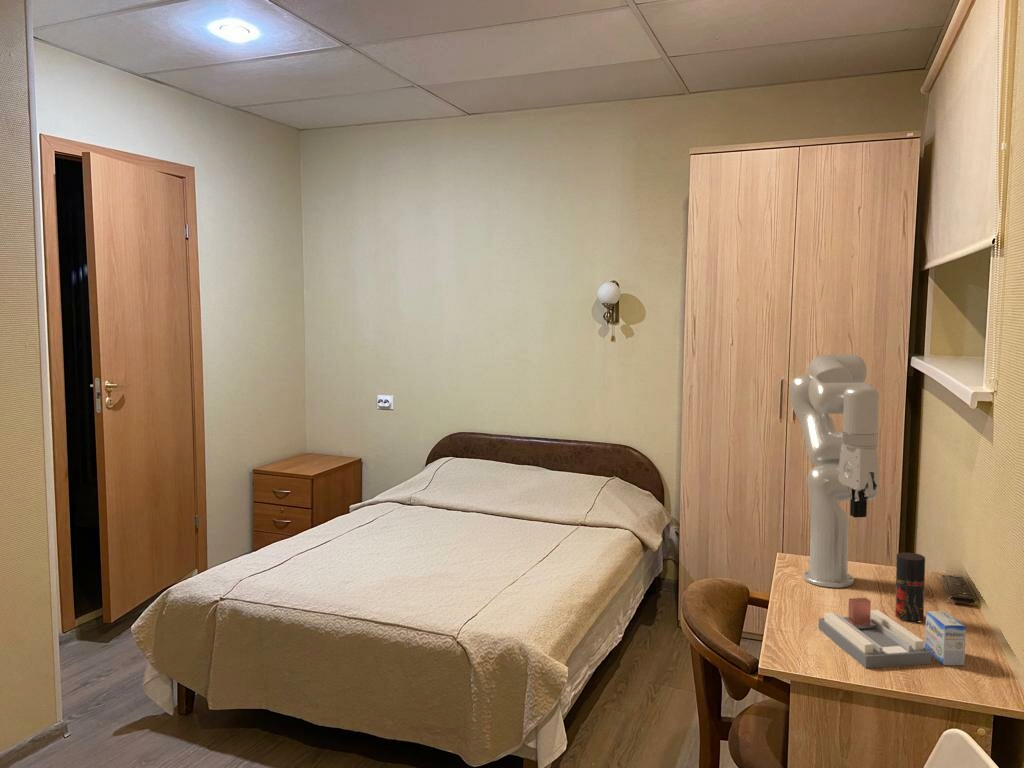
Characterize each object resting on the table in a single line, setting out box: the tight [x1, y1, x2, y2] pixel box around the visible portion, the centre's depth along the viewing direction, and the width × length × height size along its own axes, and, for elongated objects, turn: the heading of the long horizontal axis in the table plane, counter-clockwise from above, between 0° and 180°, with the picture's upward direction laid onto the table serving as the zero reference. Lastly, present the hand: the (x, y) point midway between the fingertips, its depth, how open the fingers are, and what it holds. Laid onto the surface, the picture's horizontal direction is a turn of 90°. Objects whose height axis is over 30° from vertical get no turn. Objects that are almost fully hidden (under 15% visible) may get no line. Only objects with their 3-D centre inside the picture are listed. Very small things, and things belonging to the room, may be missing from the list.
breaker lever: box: [844, 597, 876, 629], centre depth 173 cm, size 5×5×6 cm
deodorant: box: [894, 551, 926, 623], centre depth 182 cm, size 6×6×15 cm
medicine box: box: [924, 610, 967, 666], centre depth 162 cm, size 8×4×9 cm, turn 178°
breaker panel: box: [818, 609, 932, 669], centre depth 168 cm, size 20×14×4 cm
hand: (858, 516), depth 181 cm, fingers closed
